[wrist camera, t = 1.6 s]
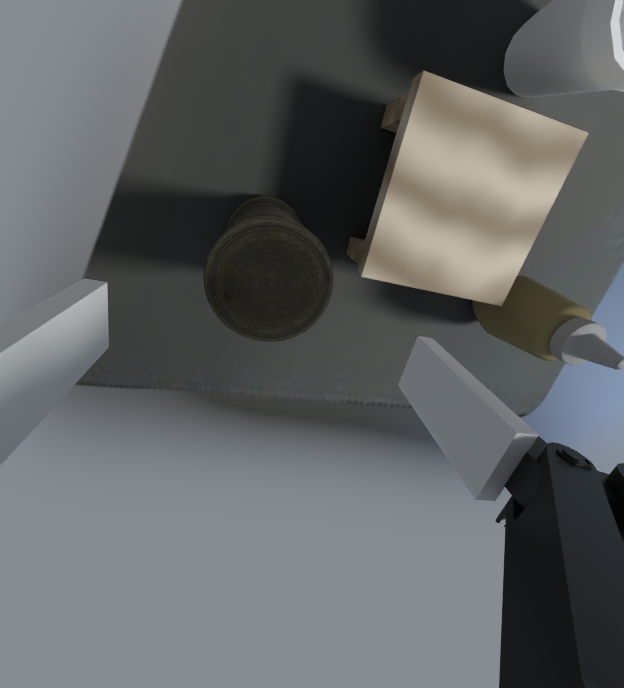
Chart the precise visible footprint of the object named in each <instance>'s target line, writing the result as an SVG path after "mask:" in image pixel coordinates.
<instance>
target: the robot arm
mask: <svg viewBox="0 0 624 688" xmlns="http://www.w3.org/2000/svg"><path fill="white" fill-rule="evenodd" d="M108 347H109V339H108V295H107V282H102V281H96V280H90V279H83V280H81V281H79V282H77V283H75V284H74V285H72V286H70V287H68V288H66V289H65V290H63V291H61V292H59V293H57V294H55V295H54V296H52V297H50V298H48V299H46V300H45V301H43V302H41V303H39V304H37V305H36V306H34V307H32V308H30V309H28V310H26V311H25V312H23V313H21V314H19V315H17V316H16V317H14V318H12V319H10V320H8V321H6V322H5V323H3V324H1V325H0V465H1V464H2V463H3V462H4V461H5V460H6V459H7V458H8V457H9V456H10V454H11V453H12V452H13V451H14V450H15V449H16V448H17V447H18V445H20V443H21V442H22V441H23V440H24V439H25V438H26V437H27V436H28V435H29V434H30V433H31V432H32V430H33V429H34V428H35V427H36V426H37V425H38V424H39V423H40V421H42V419H43V418H44V417H45V416H46V415H47V414H48V413H49V412H50V411H51V410H52V409H53V408H54V406H55V405H56V404H57V403H58V402H59V401H60V400H61V399H62V398H63V397H64V395H65V394H66V393H67V392H68V391H69V390H70V389H71V388H72V387H73V386H74V385H75V383H76V382H77V381H78V380H79V379H80V378H81V377H82V376H83V375H84V374H85V373H86V371H87V370H88V369H89V368H90V367H91V366H92V365H93V364H94V363H95V362H96V361H97V359H98V358H99V357H100V356H101V355H102V354H103V353H104V352H105V351H106V350H107V348H108ZM398 386H399V387H400V389H401V390H402V392H403V393H404V395H405V396H406V398H407V399H408V401H409V402H410V404H411V405H412V407H413V408H414V410H415V411H416V413H417V414H418V416H419V417H420V418H421V420H422V421H423V423H424V424H425V426H426V427H427V429H428V430H429V432H430V433H431V435H432V436H433V438H434V439H435V440H436V442H437V443H438V445H439V446H440V448H441V449H442V451H443V452H444V454H445V455H446V457H447V458H448V460H449V461H450V463H451V464H452V466H453V467H454V469H455V470H456V472H457V473H458V474H459V476H460V477H461V479H462V480H463V482H464V483H465V485H466V486H467V488H468V489H469V491H470V492H471V494H472V495H473V496H474V498H475V499H476V500H494V501H496V499H497V497H498V496H499V495H500V493H501V492H502V490H503V489H504V487H506V488H507V490H508V491H509V492H510V493H511V495H512V497H511V498H510V500H509V501H508V502H507V504H506V505H505V507H504V508H503V510H502V511H501V513H500V514H499V516H498V517H497V519H496V522H497V523H500V521H501V520H502V519H506V525H505V526H504V527H506V528H505V553H504V579H503V603H502V604H503V605H502V629H501V655H500V679H499V680H500V682H499V688H624V463H623V464H618V465H617V466H616V467H615V468H614V470H613V471H612V472H611V473H610V474H606V473H603V472H599V471H597V470H596V468H595V467H594V465H593V464H592V463H591V462H590V461H589V460H588V459H587V458H585V457H584V456H582V455H581V454H580V453H578V452H577V451H575V450H573V449H571V448H569V447H567V446H564V445H561V444H559V443H553V442H552V443H548V444H547V443H546V442H545V441H543V440H542V439H541V438H540V437H539V436H538V434H536V432H535V431H533V430H532V429H531V428H530V427H529V426H528V425H527V424H526V423H524V421H523V420H521V419H520V418H519V417H518V416H517V415H516V414H515V413H514V412H513V411H512V410H510V409H509V408H508V407H507V406H506V405H505V404H504V403H503V402H502V401H501V400H499V399H498V398H497V397H496V396H495V395H494V394H493V393H492V392H491V391H490V390H488V389H487V388H486V387H485V386H484V385H483V384H482V383H481V382H480V381H479V380H477V379H476V378H475V377H474V376H473V375H472V374H471V373H470V372H469V371H468V370H466V369H465V368H464V367H463V366H462V365H461V364H460V363H459V362H458V361H457V360H455V359H454V358H453V357H452V356H451V355H450V354H449V353H448V352H447V351H446V350H444V349H443V348H442V347H441V346H440V345H439V344H438V343H437V342H436V341H435V340H433V339H432V338H427V337H421V336H418V337H417V340H416V342H415V345H414V347H413V349H412V352H411V354H410V357H409V359H408V362H407V364H406V367H405V369H404V372H403V374H402V377H401V379H400V382H399V384H398Z"/></svg>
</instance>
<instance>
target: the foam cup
mask: <svg viewBox="0 0 624 688" xmlns="http://www.w3.org/2000/svg"><path fill="white" fill-rule="evenodd" d="M503 72H504V76H505V80H506V83H507V87H508V88H509V89H510V90H511V91H512V92H513V93H514V94H515V95H516V96H521V97H541V96H552V95H562V94H572V93H583V92H593V91H604V90H616V91H622V92H624V0H551V1H550V2H549V3H548V4H547V5H546V6H544V7H543V8H542V9H541V10H540V11H538V12H537V13H536V14H535V15H534V16H532V17H531V18H530V19H529V20H528V21H527V22H526V23H525V24H524V25H523V26H522V27H521V28H520V29H519V30H518V31H517V32H516V34H515V35H514V36H513V38H512V40H511V42H510V44H509V47H508V49H507V51H506V53H505V62H504V71H503Z"/></svg>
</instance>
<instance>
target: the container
mask: <svg viewBox="0 0 624 688" xmlns="http://www.w3.org/2000/svg"><path fill="white" fill-rule="evenodd" d="M204 287H205V292H206V296H207V299H208V301H209V303H210V305H211V307H212V309H213V311H214V312H215V314H216V315H217V317H218V318H219V319H220V320H221V321H222V322H223V323H224V324H225V325H226V326H227V327H229V328H230V329H231V330H233V331H235V332H236V333H238V334H240V335H242V336H244V337H247V338H250V339H254V340H258V341H281V340H286V339H289V338H292V337H295V336H297V335H299V334H301V333H303V332H304V331H306V330H307V329H309V328H310V327H311V326H312V325H313V324H314V323H315V322H316V321H317V320H318V319H319V318H320V316H321V315H322V314H323V312H324V311H325V309H326V307H327V305H328V302H329V300H330V297H331V293H332V288H333V270H332V264H331V261H330V258H329V255H328V253H327V251H326V249H325V248H324V246H323V245H322V243H321V242H320V241H319V239H318V238H317V237H316V236H315V235H314V234H313V233H312V232H311V231H309V230H308V229H307V228H305V227H304V226H303V224H302V222H301V220H300V218H299V216H298V215H297V213H296V212H295V211H294V210H293V209H292V208H291V207H290V206H289V205H288V204H287V203H285V202H284V201H282V200H280V199H278V198H275V197H272V196H257V197H254V198H251V199H249V200H247V201H245V202H243V203H242V204H241V205H239V206H238V207H237V208H236V209H235V211H234V212H233V213H232V215H231V217H230V219H229V221H228V223H227V227H226V231H225V232H224V233H222V235H221V236H220V237H219V238H218V239H217V240H216V241H215V243H214V244H213V246H212V248H211V249H210V251H209V254H208V256H207V259H206V263H205V268H204Z"/></svg>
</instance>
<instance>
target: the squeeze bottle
mask: <svg viewBox="0 0 624 688" xmlns="http://www.w3.org/2000/svg"><path fill="white" fill-rule="evenodd" d="M472 307H473V311H474V313H475V315H476V317H477V319H478V321H479V323H480V324H481V326H482V327H483V328H484V330H485V331H486V332H487V333H489V334H491V335H493V336H495V337H497V338H499V339H501V340H503V341H505V342H507V343H509V344H511V345H513V346H515V347H517V348H519V349H521V350H523V351H525V352H527V353H529V354H531V355H534V356H536V357H538V358H540V359H543V360H546V361H553V360H560V361H562V362H564V363H566V364H569V365H580V364H583V363H585V362H587V361H590V362H594V363H597V364H600V365H603V366H607V367H610V368H613V369H617V370H619V369H622V368H623V367H624V356H623V355H621V354H620V353H619V352H617V351H616V350H615V349H613V348H612V347H611V346H610V345H609V344H607V343H606V342H605V341H606V330H605V328H604V327H603V325H600V324H598V323H596V322H593V321H591V314H590V313H589V311H588V310H587V308H585V307H583V306H582V305H580V304H578V303H576V302H574V301H572V300H570V299H568V298H567V297H565V296H563V295H561V294H559V293H557V292H555V291H553V290H551V289H550V288H548V287H546V286H544V285H542V284H540V283H538V282H536V281H535V280H532V279H530V278H528V277H525V276H517V277H516V279H515V281H514V283H513V285H512V287H511V289H510V291H509V293H508V295H507V297H506V299H505V301H504V303H503V304H502V306H499V305H494V304H489V303H484V302H480V301H475V300H473V301H472Z"/></svg>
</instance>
